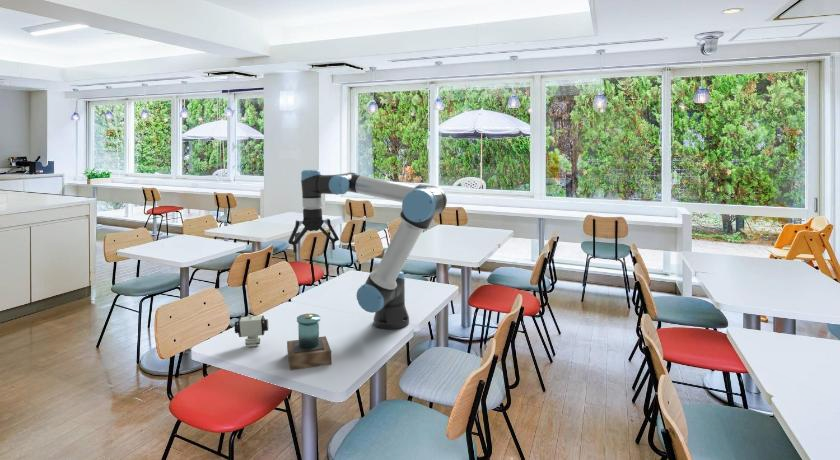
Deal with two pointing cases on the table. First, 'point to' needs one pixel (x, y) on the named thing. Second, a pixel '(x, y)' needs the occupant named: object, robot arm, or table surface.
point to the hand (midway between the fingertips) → (314, 259)
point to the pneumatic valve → (251, 329)
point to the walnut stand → (308, 354)
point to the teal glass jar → (308, 330)
